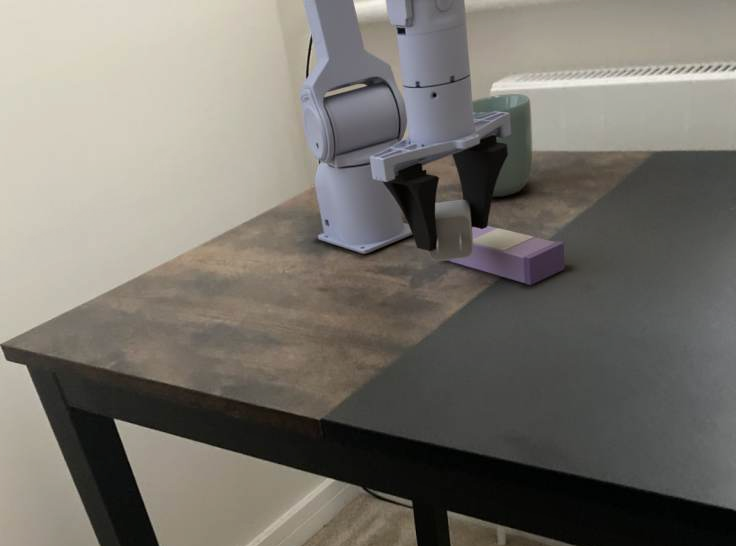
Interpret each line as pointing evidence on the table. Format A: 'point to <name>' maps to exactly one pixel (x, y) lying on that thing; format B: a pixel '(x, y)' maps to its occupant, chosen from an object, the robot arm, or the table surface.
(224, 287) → the table surface
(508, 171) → the cup
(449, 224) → the usb wall charger
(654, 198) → the table surface
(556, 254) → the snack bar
